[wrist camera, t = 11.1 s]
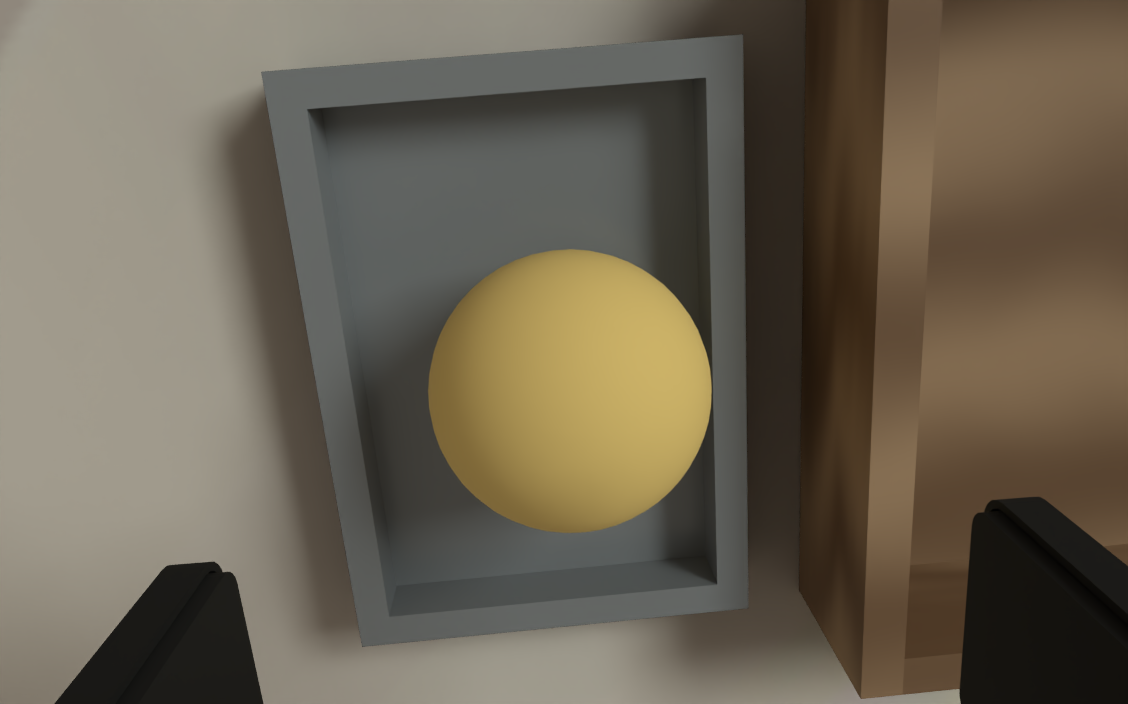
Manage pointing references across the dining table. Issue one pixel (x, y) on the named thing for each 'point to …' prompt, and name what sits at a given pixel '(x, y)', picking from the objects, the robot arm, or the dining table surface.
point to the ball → (569, 391)
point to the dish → (475, 250)
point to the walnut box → (955, 305)
